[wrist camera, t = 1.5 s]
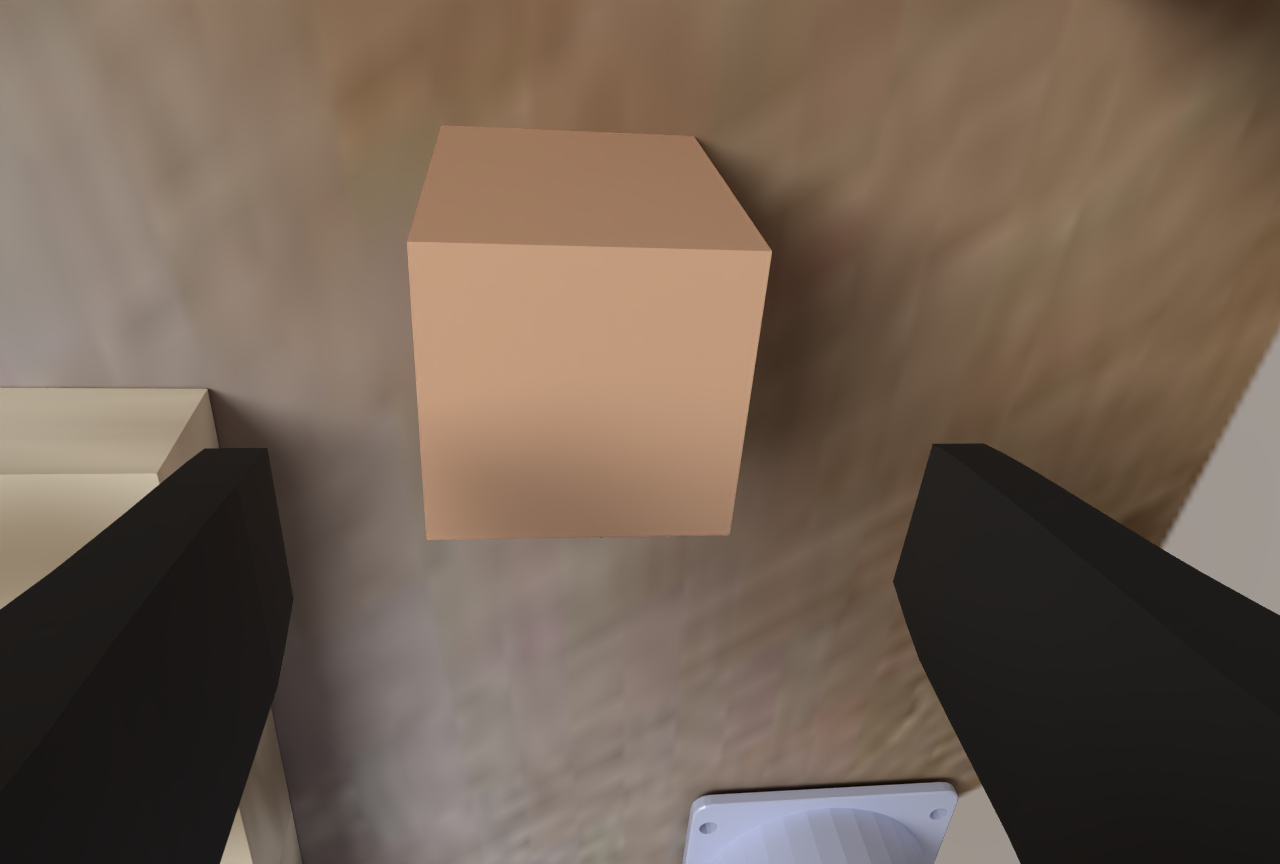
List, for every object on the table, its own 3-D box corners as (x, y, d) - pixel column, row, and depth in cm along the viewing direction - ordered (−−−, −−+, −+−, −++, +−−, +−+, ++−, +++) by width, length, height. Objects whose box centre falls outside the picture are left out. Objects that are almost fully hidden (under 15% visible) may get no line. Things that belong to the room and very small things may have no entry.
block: (672, 357, 19) (729, 535, 14) (451, 355, 18) (426, 540, 13) (693, 135, 17) (771, 251, 12) (441, 125, 16) (407, 241, 11)
